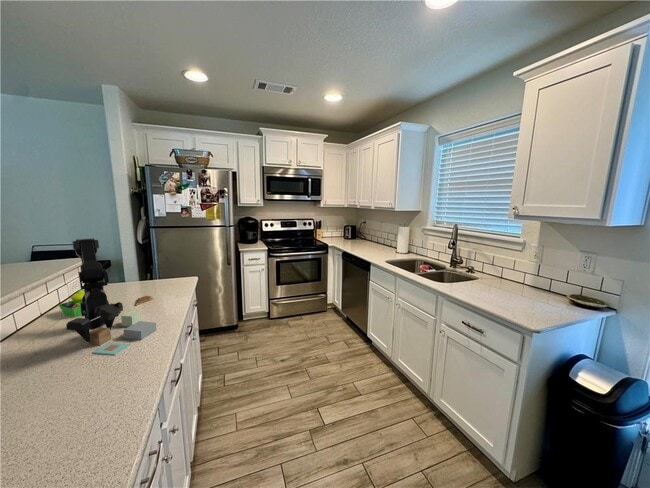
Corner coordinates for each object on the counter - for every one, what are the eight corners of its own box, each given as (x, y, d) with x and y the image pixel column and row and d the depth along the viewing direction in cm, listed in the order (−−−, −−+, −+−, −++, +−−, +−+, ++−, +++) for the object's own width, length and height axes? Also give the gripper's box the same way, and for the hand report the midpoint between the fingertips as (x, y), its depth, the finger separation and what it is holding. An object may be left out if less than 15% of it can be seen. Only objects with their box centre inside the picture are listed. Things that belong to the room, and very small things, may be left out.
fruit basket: (58, 314, 129) (55, 292, 127) (81, 308, 137) (78, 287, 135) (72, 319, 125) (69, 296, 123) (94, 312, 133) (92, 290, 131)
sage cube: (122, 326, 120) (121, 315, 119) (131, 321, 125) (130, 311, 124) (132, 326, 120) (131, 316, 119) (141, 321, 124) (140, 311, 124)
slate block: (124, 338, 110) (123, 329, 109) (140, 329, 118) (139, 321, 117) (141, 340, 109) (140, 331, 108) (156, 331, 117) (155, 322, 116)
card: (92, 353, 99) (92, 351, 99) (109, 343, 106) (109, 341, 105) (115, 355, 98) (114, 353, 98) (130, 345, 105) (130, 343, 105)
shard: (136, 306, 142) (135, 303, 142) (126, 304, 144) (125, 301, 144) (155, 299, 152) (154, 296, 152) (145, 297, 155) (145, 294, 154)
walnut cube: (88, 344, 104) (86, 333, 103) (99, 338, 109) (98, 327, 108) (99, 345, 104) (98, 334, 103) (111, 339, 109) (109, 328, 108)
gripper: (91, 309, 94) (96, 350, 96) (133, 292, 112) (136, 326, 115) (62, 307, 95) (67, 348, 97) (108, 290, 113) (112, 324, 116)
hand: (99, 336), depth 106 cm, fingers open, 9 cm apart
